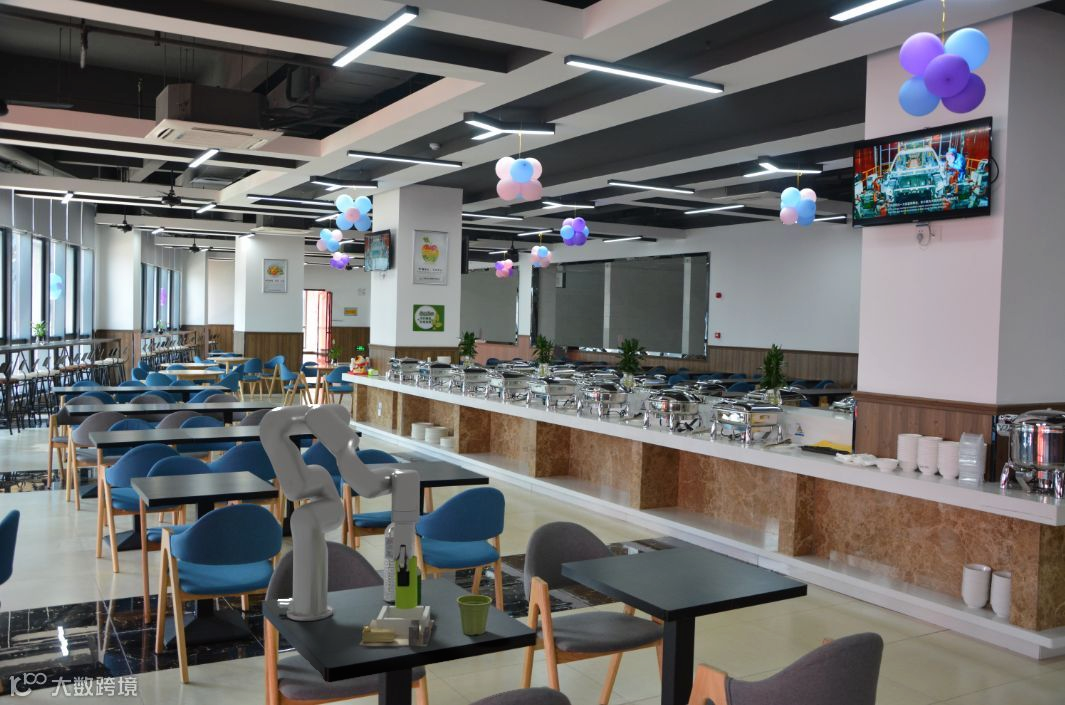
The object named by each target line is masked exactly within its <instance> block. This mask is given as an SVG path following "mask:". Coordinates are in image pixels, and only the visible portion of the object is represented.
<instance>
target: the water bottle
mask: <svg viewBox="0 0 1065 705" xmlns="http://www.w3.org/2000/svg"><path fill="white" fill-rule="evenodd" d="M394 527H395V523H392V522H391V523H390V524H388V525H387V527H386V528H385V530H384V556H383V565H384V566H383V600H384V601H385V602H387V603H392V602H395V561H394V560H393V544H394Z"/></svg>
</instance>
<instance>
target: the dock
mask: <svg viewBox="0 0 1065 705" xmlns="http://www.w3.org/2000/svg"><path fill="white" fill-rule="evenodd" d="M424 607H425V608H424ZM376 620H377V626H376V629H395V635H409V626H410V623H411V620H419V622H421V635H423V632H424V629H425V627H428V625H429V622H430V620H431V605H428V606H427V605H426V606H424V605H421V606H417V607H415V608H412V609H398V608H396V607H395V605H389V607H388V605H383V606H382V608H381V609H380V612H379V614H378V615H377V618H376Z"/></svg>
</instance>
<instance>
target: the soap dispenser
mask: <svg viewBox="0 0 1065 705" xmlns="http://www.w3.org/2000/svg"><path fill="white" fill-rule="evenodd" d="M398 558H399V557H398ZM398 558H397V559H396V560H395V603H394V606H395V607H396V608H398V609H412V608H415V607H417V566H418V556H416V555H413V557H412V559H411V560H409V571H410V585H409V586H408V587H398V586H397V571H398ZM405 559H407V557H405ZM405 563H407V562H405Z"/></svg>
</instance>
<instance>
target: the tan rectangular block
mask: <svg viewBox="0 0 1065 705" xmlns="http://www.w3.org/2000/svg"><path fill="white" fill-rule="evenodd" d="M361 634H362V635H361V638H362V639H361V641H362V642H394V640H395V629H371V626H369V625H364V626H363V630H362V633H361Z"/></svg>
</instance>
